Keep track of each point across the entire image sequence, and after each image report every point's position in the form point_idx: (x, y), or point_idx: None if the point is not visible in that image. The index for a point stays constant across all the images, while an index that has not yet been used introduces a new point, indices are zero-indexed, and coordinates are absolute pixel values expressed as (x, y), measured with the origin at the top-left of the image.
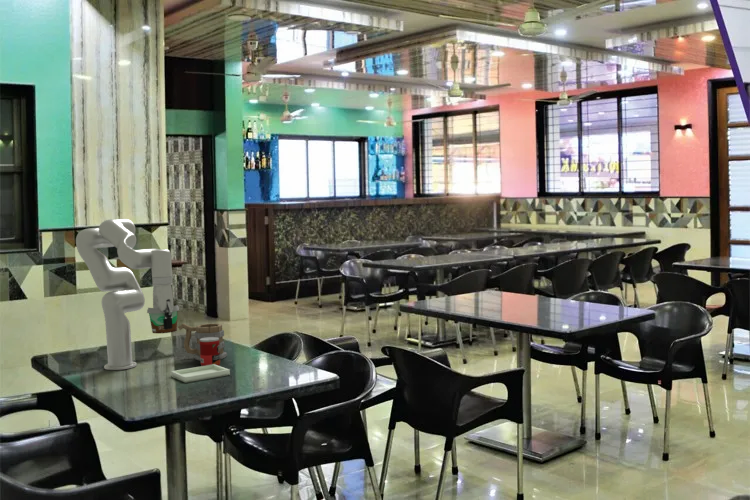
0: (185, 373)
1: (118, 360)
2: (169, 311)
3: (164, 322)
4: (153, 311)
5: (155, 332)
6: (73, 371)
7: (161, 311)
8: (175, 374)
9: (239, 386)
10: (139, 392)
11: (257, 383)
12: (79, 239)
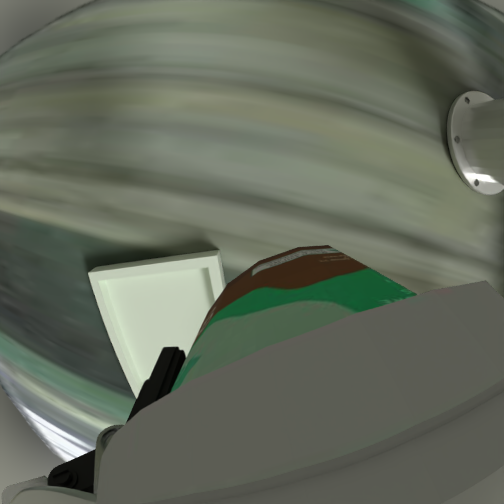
0: (211, 302)
1: (476, 120)
2: (12, 488)
3: (146, 394)
4: (149, 450)
5: (258, 263)
6: (483, 30)
7: (55, 486)
8: (169, 260)
9: (28, 354)
10: (57, 113)
11: (44, 388)
12: None
